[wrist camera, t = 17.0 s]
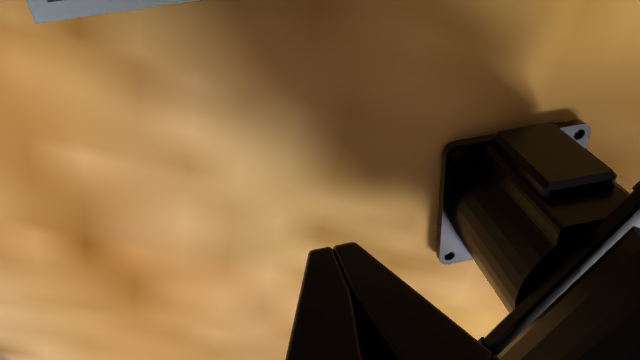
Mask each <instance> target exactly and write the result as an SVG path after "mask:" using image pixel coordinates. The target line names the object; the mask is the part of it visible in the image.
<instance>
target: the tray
mask: <svg viewBox="0 0 640 360" xmlns="http://www.w3.org/2000/svg"><path fill="white" fill-rule="evenodd" d="M26 1H27V3H28V6H29V9H30V11H31V14H32V16H33V19H34V21H35V24H37V23H44V22H51V21H58V20H65V19H72V18H79V17H86V16H93V15H100V14H107V13H114V12H121V11H128V10H135V9H142V8H149V7H156V6H163V5H170V4H177V3H184V2H191V1H198V0H26Z"/></svg>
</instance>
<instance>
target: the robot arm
mask: <svg viewBox="0 0 640 360" xmlns="http://www.w3.org/2000/svg"><path fill="white" fill-rule="evenodd" d="M578 130H579V131H578ZM577 131H578V133H577V134H575V133H576V132H577ZM574 134H575V135H574ZM589 136H590V127H589V126H588V125H587V124H586V123H584V122H583V121H581V120H573V121H567V122H562V123H556V124H554V123H545V124H539V125H534V126H528V127H522V128H517V129H511V130H505V131H500V132H497V133H496V134H493V135H488V136H482V137H476V138H470V139H465V140H459V141H454V142H451V143H449V144H448V145H446V146H445V148H444V149H443V152H442V163H441V180H440V197H439V214H438V231H437V248H436V254H437V257H438V259H439V260H440V262H441V263H443V264H452V263H457V262H462V261H466V260H471V259H474V261H475V262H476V264H477V265H478V267H479V268H480V270H481V271H482V273H483V274H484V275H485V277H486V278H487V280H488V281H489V283H490V284H491V286H492V287H493V289H494V290H495V292H496V293H497V295H498V296H499V298H500V299H501V301H502V302H503V304H504V305H505V307H506V308H507V310H508V311H509V314H508V315H507V316H506V317H505V318H504V319H503V320H502V321H501V322H500V323H499V324H498V325H497V326H496V327H495V328H494V329H493V330H492V331H491V332H490V333H489V334H488V335H487V336H486V337H485V338H484V337H481V338H480V339H479V340H478V341H477V340H476V339H475V338H473V337H472V336H471V335H470V334H468V333H467V332H466V331H465V330H464V329H462V328H461V327H460V326H459V325H457V324H456V323H455V322H454V321H452V320H451V319H450V318H449V317H447V316H446V315H445V314H444V313H442V312H441V311H440V310H439V309H437V308H436V307H435V306H434V305H433V304H431V303H430V302H429V301H428V300H426V299H425V298H424V297H423V296H421V295H420V294H419V293H418V292H416V291H415V290H414V289H413V288H411V287H410V286H409V285H408V284H406V283H405V282H404V281H403V280H401V279H400V278H399V277H398V276H397V275H395V274H394V273H393V272H392V271H390V270H389V269H388V268H387V267H385V266H384V265H383V264H382V263H380V262H379V261H378V260H377V259H375V258H374V257H373V256H372V255H370V254H369V253H368V252H367V251H366V250H364V249H363V248H362V247H361V246H359V245H358V244H357V243H354V242H350V243H345V244H340V245H336V246H334V247H333V249H332V248H331V247H325V248H320V249H315V250H311V251H310V252H309V254H308V258H307V263H306V268H305V272H304V277H303V281H302V286H301V291H300V295H299V300H298V304H297V309H296V314H295V318H294V323H293V328H292V332H291V337H290V341H289V346H288V351H287V355H286V360H640V181H639V182H638V183H637V184H636V185H635V186H634V187H633V188H632V189H633V190H634V191H633V192H632V193H631V194H630V193H628V192H627V191H626V190H625V189H624V188H622V187H621V186H620V185H619V184H617V183H616V182H615V181H616V178H617V175H616V173H615V172H614V171H613V170H612V169H611V168H609V167H608V166H607V165H606V164H604V163H603V162H602V161H600V160H599V159H598V158H597V157H595V156H594V155H593V154H592V153H590V152H589V151H588V150H587V144H588V140H589ZM457 151H459V153H458V154H457V155H456V156H454V157H452V155H453V154H454V153H455V152H457ZM449 252H450V253H449ZM447 253H449V254H447ZM446 254H447V255H446Z"/></svg>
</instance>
